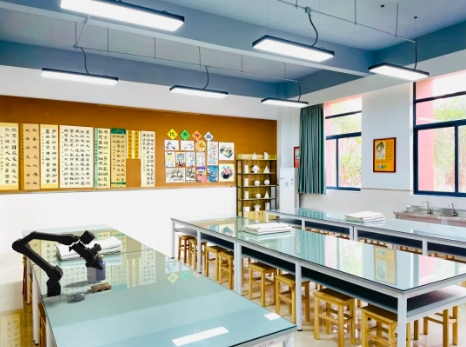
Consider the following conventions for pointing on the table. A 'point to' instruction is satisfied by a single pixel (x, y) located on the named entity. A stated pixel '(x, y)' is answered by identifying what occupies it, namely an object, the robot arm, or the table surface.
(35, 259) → the robot arm
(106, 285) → the dock
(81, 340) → the table surface
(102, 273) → the ink bottle
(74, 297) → the grey rounded block
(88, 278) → the small box
